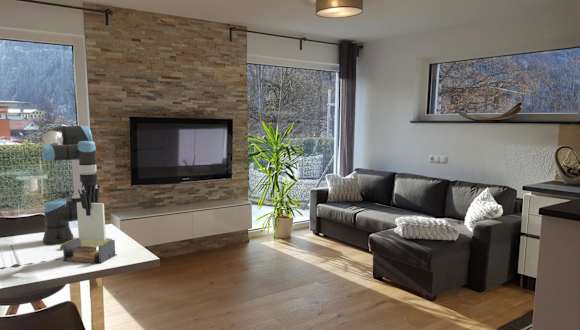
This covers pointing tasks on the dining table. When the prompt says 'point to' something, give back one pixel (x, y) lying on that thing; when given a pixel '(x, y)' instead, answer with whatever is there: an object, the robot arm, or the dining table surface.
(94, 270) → the dining table surface
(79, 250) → the offcut top
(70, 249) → the rack
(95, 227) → the sheet
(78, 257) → the offcut bottom
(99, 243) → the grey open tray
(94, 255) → the offcut middle
